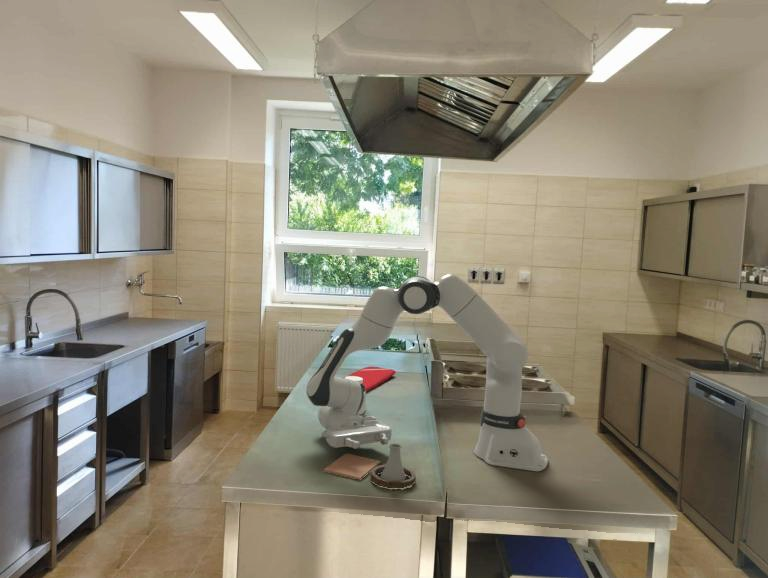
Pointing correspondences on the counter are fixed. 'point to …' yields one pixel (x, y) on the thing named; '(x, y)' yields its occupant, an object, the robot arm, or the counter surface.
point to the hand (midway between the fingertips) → (372, 444)
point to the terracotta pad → (352, 466)
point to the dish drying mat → (373, 376)
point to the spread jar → (363, 391)
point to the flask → (394, 465)
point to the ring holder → (392, 484)
